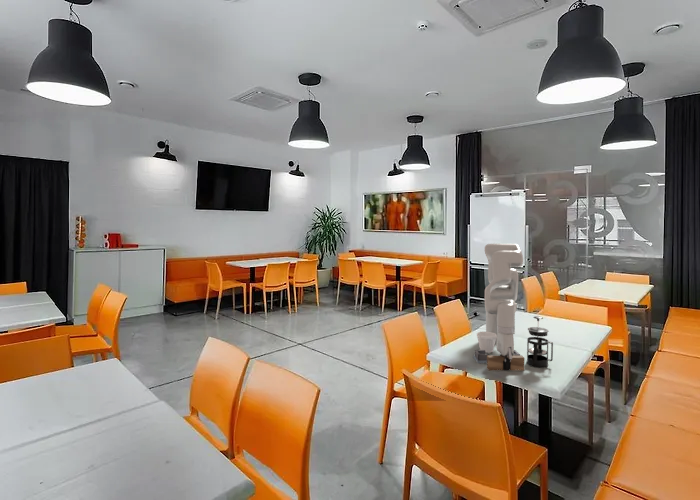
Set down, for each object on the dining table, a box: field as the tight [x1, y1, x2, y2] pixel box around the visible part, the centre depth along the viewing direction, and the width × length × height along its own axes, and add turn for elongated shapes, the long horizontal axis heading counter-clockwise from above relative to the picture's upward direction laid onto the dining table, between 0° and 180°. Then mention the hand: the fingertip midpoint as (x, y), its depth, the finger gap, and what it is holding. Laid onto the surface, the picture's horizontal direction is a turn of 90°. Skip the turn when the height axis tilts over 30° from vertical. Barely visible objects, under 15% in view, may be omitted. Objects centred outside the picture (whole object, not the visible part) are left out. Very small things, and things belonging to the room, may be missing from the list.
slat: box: [486, 354, 525, 371], centre depth 179 cm, size 3×16×6 cm, turn 88°
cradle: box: [472, 349, 521, 364], centre depth 191 cm, size 8×21×4 cm, turn 88°
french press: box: [526, 315, 554, 369], centre depth 183 cm, size 12×9×23 cm
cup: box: [476, 331, 497, 354], centre depth 203 cm, size 10×10×9 cm
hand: (505, 368), depth 179 cm, fingers closed on slat, 2 cm apart
